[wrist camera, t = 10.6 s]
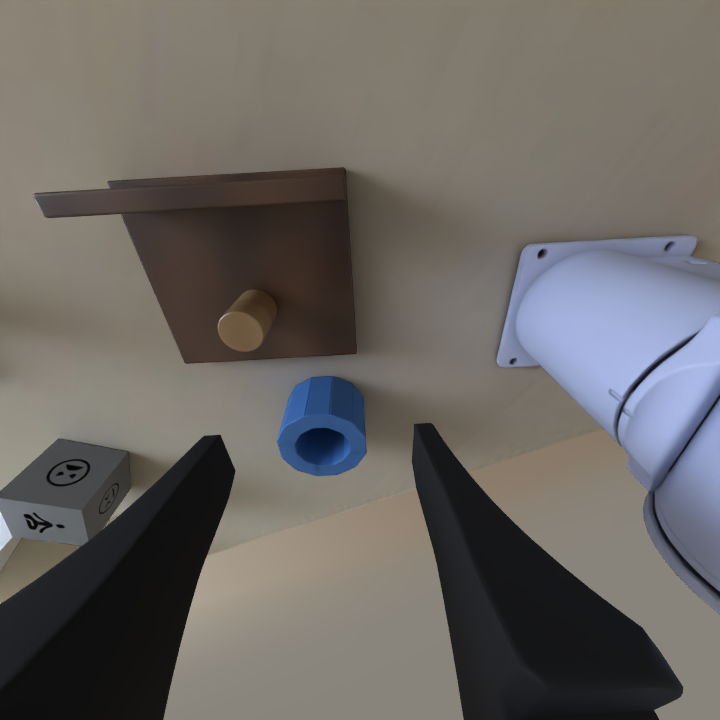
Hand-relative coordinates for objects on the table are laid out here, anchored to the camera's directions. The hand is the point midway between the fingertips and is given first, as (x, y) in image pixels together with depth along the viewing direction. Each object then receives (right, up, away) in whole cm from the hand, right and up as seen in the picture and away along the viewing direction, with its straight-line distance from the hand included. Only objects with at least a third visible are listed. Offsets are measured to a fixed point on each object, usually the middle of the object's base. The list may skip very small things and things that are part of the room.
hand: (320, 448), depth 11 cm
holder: (-4, +8, +6) cm, 11 cm away
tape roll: (-1, 0, +11) cm, 11 cm away
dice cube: (-21, -5, +14) cm, 26 cm away
